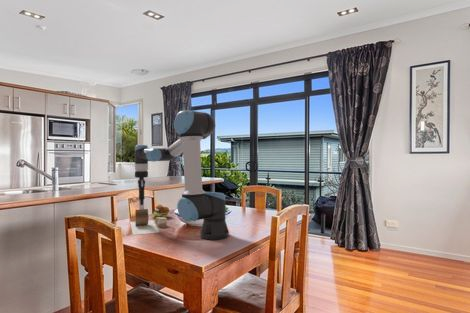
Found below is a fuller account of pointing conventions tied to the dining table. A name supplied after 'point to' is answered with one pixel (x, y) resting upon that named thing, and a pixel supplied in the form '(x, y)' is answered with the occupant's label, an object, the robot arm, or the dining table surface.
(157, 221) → the maple block
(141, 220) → the walnut block
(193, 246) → the dining table surface
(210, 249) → the dining table surface
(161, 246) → the dining table surface
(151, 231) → the placemat
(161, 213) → the cheeseburger
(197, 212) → the robot arm
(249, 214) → the dining table surface
